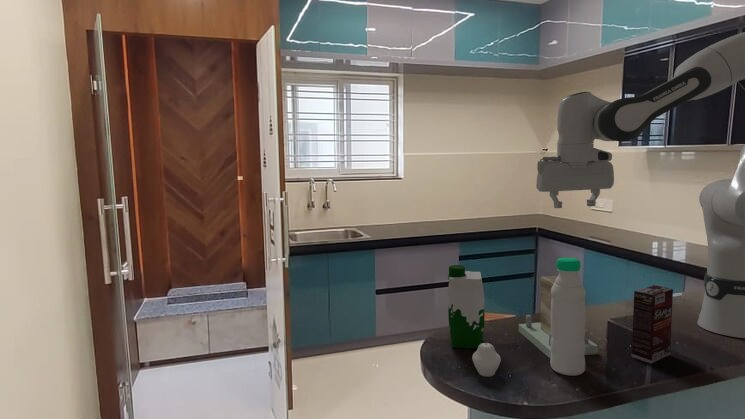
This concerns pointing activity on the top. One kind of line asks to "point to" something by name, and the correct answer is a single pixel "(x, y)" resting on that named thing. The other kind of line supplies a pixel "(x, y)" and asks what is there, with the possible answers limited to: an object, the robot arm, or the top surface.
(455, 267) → the milk carton
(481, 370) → the white bulb shape
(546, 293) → the upright wooden block
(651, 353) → the supplement box
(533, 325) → the peg rest
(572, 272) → the water bottle
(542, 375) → the top surface
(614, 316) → the top surface
